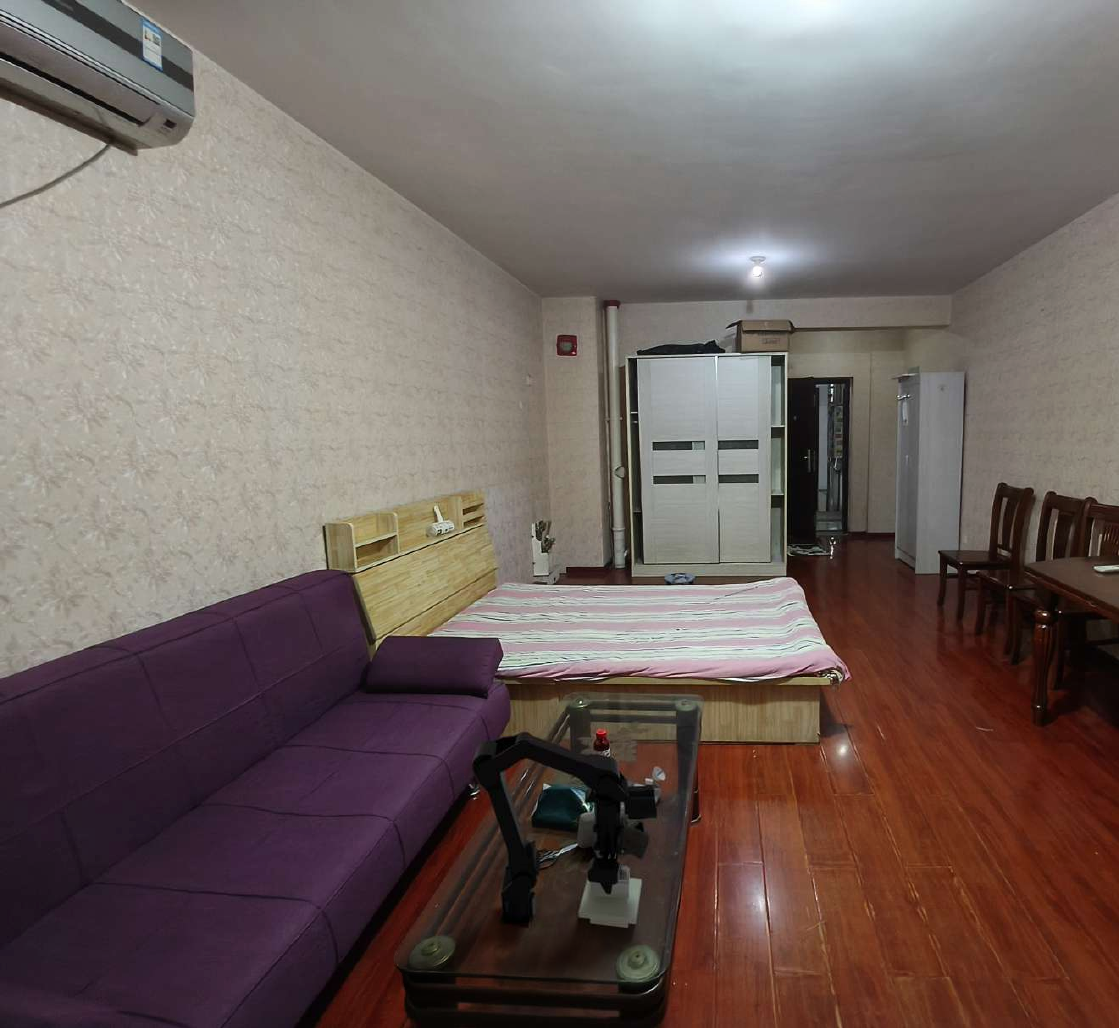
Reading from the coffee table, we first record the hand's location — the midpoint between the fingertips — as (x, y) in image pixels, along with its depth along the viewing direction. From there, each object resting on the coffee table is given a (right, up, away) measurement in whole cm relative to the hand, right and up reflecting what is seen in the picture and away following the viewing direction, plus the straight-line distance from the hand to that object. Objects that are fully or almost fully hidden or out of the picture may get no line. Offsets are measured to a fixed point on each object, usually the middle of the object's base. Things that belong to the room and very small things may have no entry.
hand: (610, 884), depth 143 cm
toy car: (+10, -1, +43) cm, 44 cm away
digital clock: (+2, -3, +24) cm, 24 cm away
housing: (0, -1, 0) cm, 1 cm away
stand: (0, -6, +1) cm, 7 cm away
